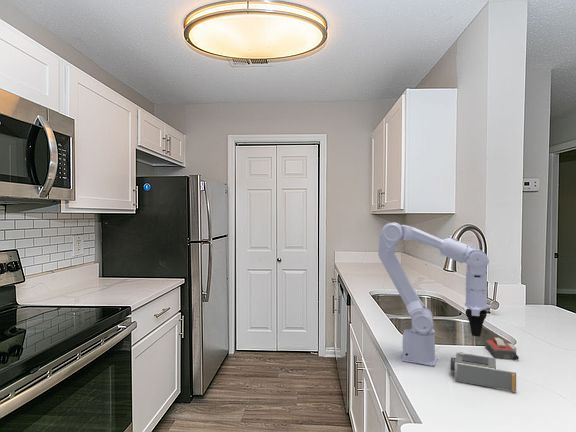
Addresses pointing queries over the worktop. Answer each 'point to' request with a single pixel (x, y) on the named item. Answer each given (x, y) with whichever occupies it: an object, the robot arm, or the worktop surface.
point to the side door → (485, 376)
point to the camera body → (473, 361)
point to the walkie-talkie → (501, 349)
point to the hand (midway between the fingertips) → (476, 335)
